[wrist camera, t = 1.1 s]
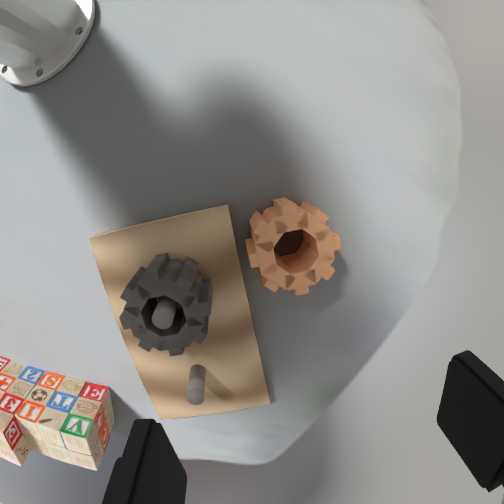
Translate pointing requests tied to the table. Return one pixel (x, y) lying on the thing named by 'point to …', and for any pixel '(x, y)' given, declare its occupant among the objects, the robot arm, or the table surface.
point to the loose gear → (306, 257)
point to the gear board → (184, 312)
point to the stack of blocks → (52, 416)
